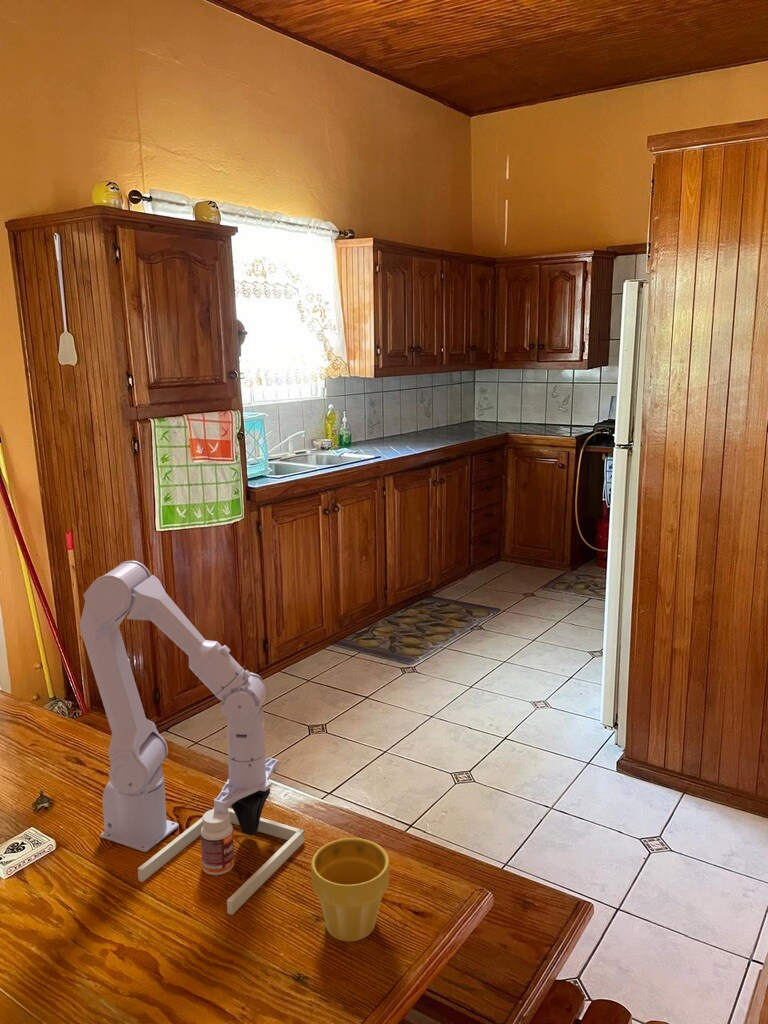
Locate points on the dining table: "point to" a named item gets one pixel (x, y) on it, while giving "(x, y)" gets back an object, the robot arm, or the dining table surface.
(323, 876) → the plant pot
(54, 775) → the dining table surface
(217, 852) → the pill bottle
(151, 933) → the dining table surface
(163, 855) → the white u-shaped open frame
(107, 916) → the dining table surface
